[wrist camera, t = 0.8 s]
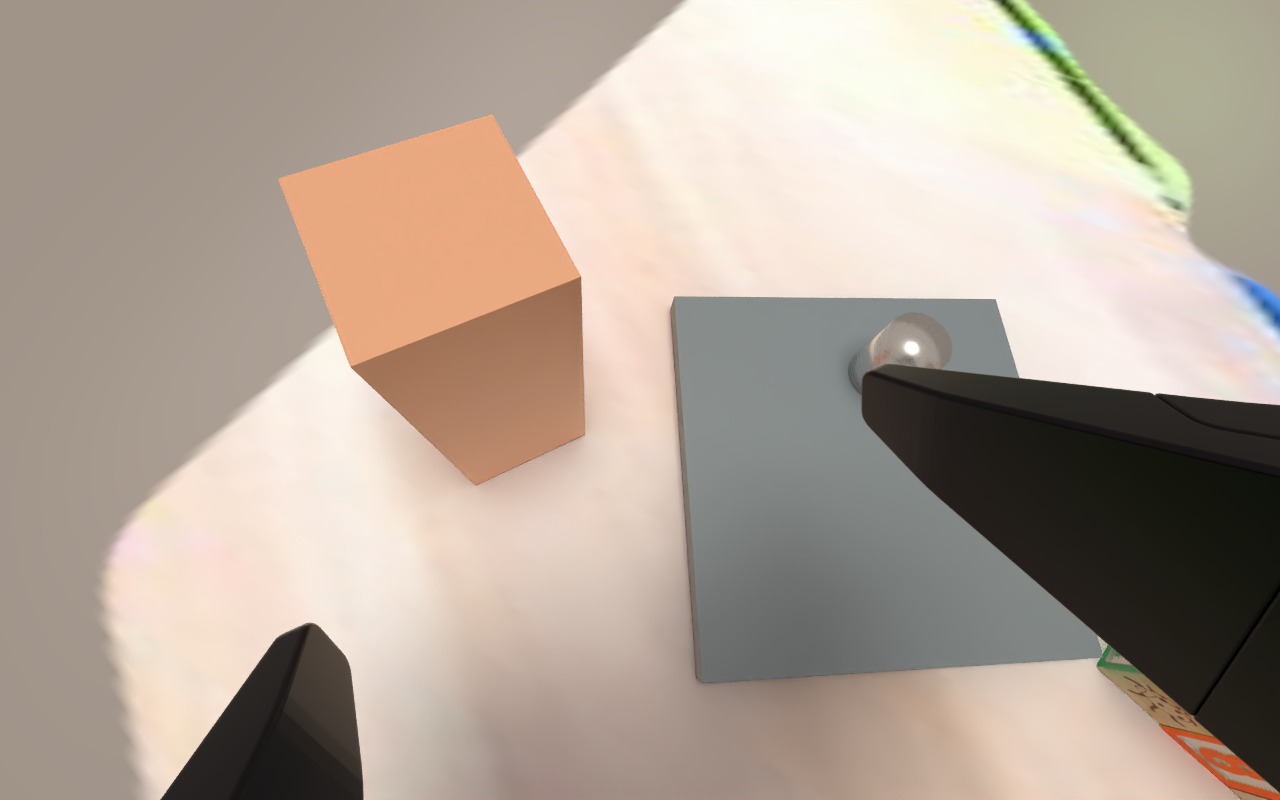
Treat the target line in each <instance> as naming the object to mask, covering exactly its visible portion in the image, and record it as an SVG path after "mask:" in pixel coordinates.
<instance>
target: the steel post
mask: <svg viewBox="0 0 1280 800" xmlns="http://www.w3.org/2000/svg"><path fill="white" fill-rule="evenodd" d="M951 356H952V342H951V339H950V336H949V334H948V333H947V331H946V330H945V328H944V327H943V326H942V325H941V324H940V323H939V322H938V321H936V320H935V319H933V318H932V317H930V316H928V315H925V314H922V313H915V312H912V313H905V314H902V315H900V316H899V317H897V318H896V319H895V320H894V321H892V322H891V323H890V324H889V325H888V326H887V327H886V328H885V329H883V330H882V331H881V332H880V333H879V334H878V335H877V336H876V337H874V338H873V339H872V340H871V341H870V342H869V343H868V344H867V345H866V346H864V347H863V348H862V349H861V350H860V351H859V352H858V353H857V354H855V355H854V356H853V358H852V359H851V361H850V363H849V366H848V376H849V380H850V382H851V384H852V386H853V388H854V389H855V390H856V391H857V392H858V393H859V394H860V395H861V394H862V377H863V375H864V374H865V373H866V372H867V371H869V370H871V369H873V368H875V367H878V366H880V365H883V364H897V365H906V366H915V367H924V368H933V369H942V368H943V367H945V366H946V365H947V364H948V362H949V361H950V358H951Z"/></svg>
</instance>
